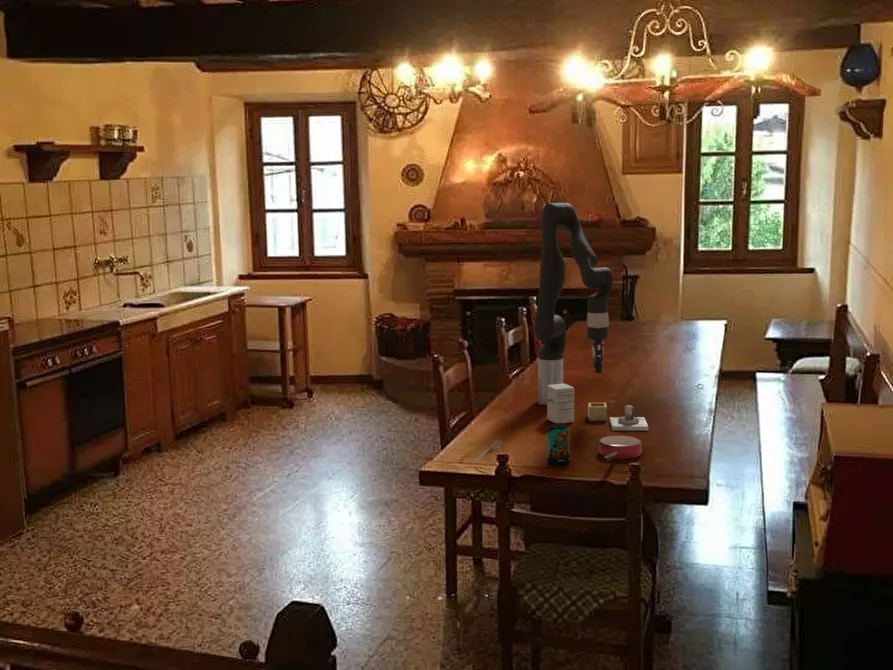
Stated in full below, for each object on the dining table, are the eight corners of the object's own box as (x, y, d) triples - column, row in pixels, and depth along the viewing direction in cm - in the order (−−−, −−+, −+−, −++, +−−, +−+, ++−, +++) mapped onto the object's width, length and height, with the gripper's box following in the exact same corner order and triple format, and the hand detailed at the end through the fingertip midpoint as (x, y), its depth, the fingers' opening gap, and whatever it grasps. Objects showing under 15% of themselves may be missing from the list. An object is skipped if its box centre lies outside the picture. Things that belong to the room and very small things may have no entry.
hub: (589, 420, 360) (589, 407, 359) (588, 416, 366) (588, 402, 366) (606, 420, 360) (606, 406, 359) (605, 416, 366) (605, 402, 365)
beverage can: (566, 467, 308) (566, 429, 306) (544, 465, 310) (544, 427, 308) (572, 461, 314) (572, 423, 312) (550, 459, 317) (550, 421, 315)
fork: (465, 465, 314) (465, 459, 314) (495, 444, 336) (494, 439, 335) (475, 466, 313) (475, 461, 312) (504, 445, 334) (504, 440, 334)
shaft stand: (612, 430, 347) (612, 410, 346) (609, 421, 359) (609, 402, 358) (648, 430, 346) (648, 410, 345) (644, 421, 358) (644, 401, 357)
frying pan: (635, 480, 296) (636, 459, 294) (590, 477, 299) (590, 456, 298) (642, 448, 326) (642, 429, 325) (601, 446, 329) (601, 427, 328)
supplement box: (546, 419, 363) (546, 384, 361) (565, 417, 366) (565, 382, 364) (556, 424, 357) (555, 389, 354) (575, 422, 359) (575, 387, 357)
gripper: (585, 321, 364) (585, 366, 367) (588, 328, 350) (588, 374, 353) (607, 321, 364) (607, 366, 367) (610, 328, 350) (610, 374, 353)
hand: (597, 370), depth 360 cm, fingers open, 8 cm apart
